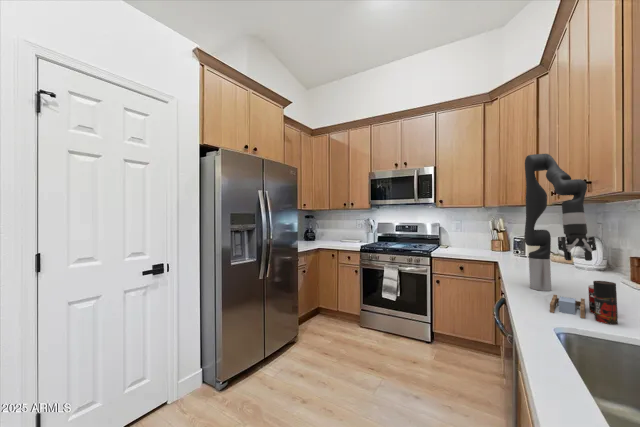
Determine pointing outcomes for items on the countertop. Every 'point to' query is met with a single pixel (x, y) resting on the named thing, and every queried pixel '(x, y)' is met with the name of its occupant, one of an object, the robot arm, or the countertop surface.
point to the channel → (578, 303)
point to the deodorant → (605, 302)
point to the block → (567, 305)
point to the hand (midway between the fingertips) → (578, 260)
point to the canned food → (592, 298)
